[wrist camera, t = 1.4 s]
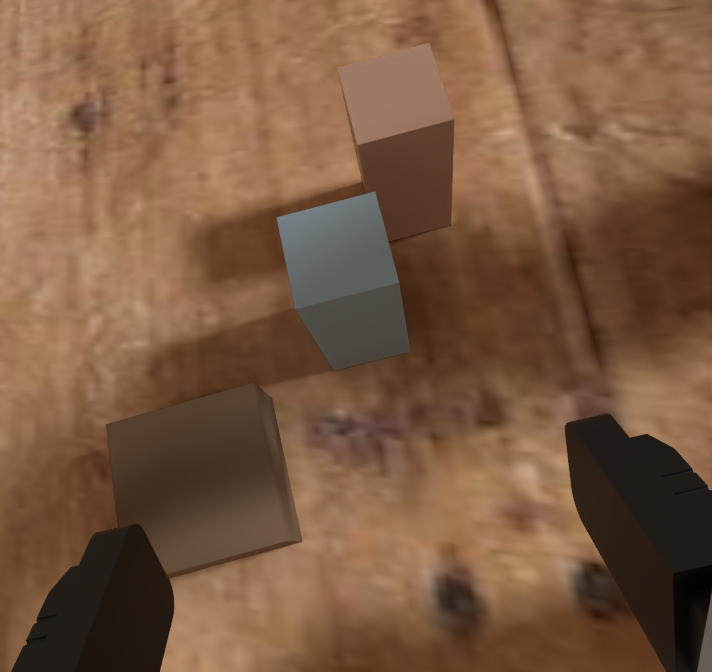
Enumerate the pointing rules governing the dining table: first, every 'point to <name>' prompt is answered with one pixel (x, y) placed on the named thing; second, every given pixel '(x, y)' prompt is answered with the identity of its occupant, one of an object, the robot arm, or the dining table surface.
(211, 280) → the dining table surface
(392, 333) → the blue pillar
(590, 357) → the dining table surface
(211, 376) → the dining table surface
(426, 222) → the terracotta pillar
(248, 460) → the walnut plinth
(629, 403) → the dining table surface
